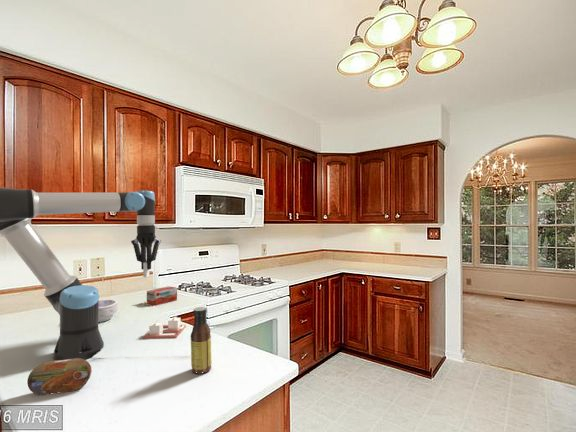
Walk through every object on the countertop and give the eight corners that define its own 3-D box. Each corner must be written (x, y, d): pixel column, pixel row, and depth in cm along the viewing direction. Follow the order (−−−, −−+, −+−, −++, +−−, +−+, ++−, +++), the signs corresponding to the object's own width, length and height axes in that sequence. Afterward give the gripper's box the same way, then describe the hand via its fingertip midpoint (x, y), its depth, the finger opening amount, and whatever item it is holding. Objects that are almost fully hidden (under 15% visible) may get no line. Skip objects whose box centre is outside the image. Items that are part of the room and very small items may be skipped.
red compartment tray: (176, 341, 125) (176, 335, 125) (143, 341, 124) (143, 335, 124) (185, 329, 138) (185, 324, 138) (155, 330, 137) (155, 324, 137)
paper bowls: (76, 326, 142) (76, 309, 143) (86, 316, 157) (86, 300, 157) (114, 323, 147) (114, 306, 147) (120, 313, 162) (120, 298, 162)
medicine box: (168, 298, 193) (168, 285, 193) (177, 300, 189) (177, 287, 189) (146, 304, 180) (146, 290, 181) (154, 306, 176) (154, 292, 176)
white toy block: (177, 331, 132) (177, 319, 132) (168, 331, 132) (168, 319, 132) (180, 328, 136) (180, 316, 136) (171, 328, 136) (171, 316, 136)
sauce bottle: (203, 364, 105) (203, 304, 105) (215, 369, 101) (215, 307, 101) (186, 371, 100) (186, 308, 100) (198, 377, 96) (198, 312, 96)
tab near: (159, 336, 126) (159, 324, 126) (149, 336, 126) (149, 324, 126) (162, 333, 130) (162, 320, 130) (153, 333, 130) (153, 321, 130)
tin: (26, 397, 86) (26, 366, 86) (32, 391, 89) (32, 361, 89) (89, 389, 90) (89, 359, 90) (92, 383, 93) (92, 355, 93)
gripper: (163, 224, 147) (164, 275, 147) (136, 224, 147) (136, 275, 147) (156, 224, 139) (156, 278, 139) (127, 225, 140) (127, 278, 139)
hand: (146, 276), depth 143 cm, fingers closed
